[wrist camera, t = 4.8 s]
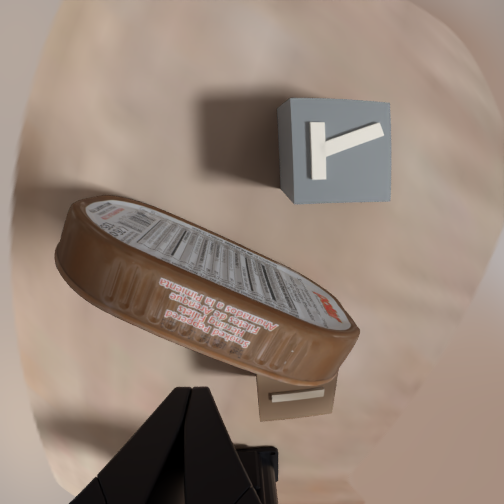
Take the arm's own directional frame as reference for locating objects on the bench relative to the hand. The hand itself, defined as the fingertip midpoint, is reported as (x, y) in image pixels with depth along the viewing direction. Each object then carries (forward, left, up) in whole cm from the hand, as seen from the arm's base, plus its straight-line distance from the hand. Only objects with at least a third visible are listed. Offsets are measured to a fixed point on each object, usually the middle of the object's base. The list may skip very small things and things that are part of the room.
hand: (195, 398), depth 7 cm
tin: (0, 0, -12) cm, 12 cm away
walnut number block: (-8, -4, -12) cm, 15 cm away
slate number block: (+5, -6, -12) cm, 14 cm away
